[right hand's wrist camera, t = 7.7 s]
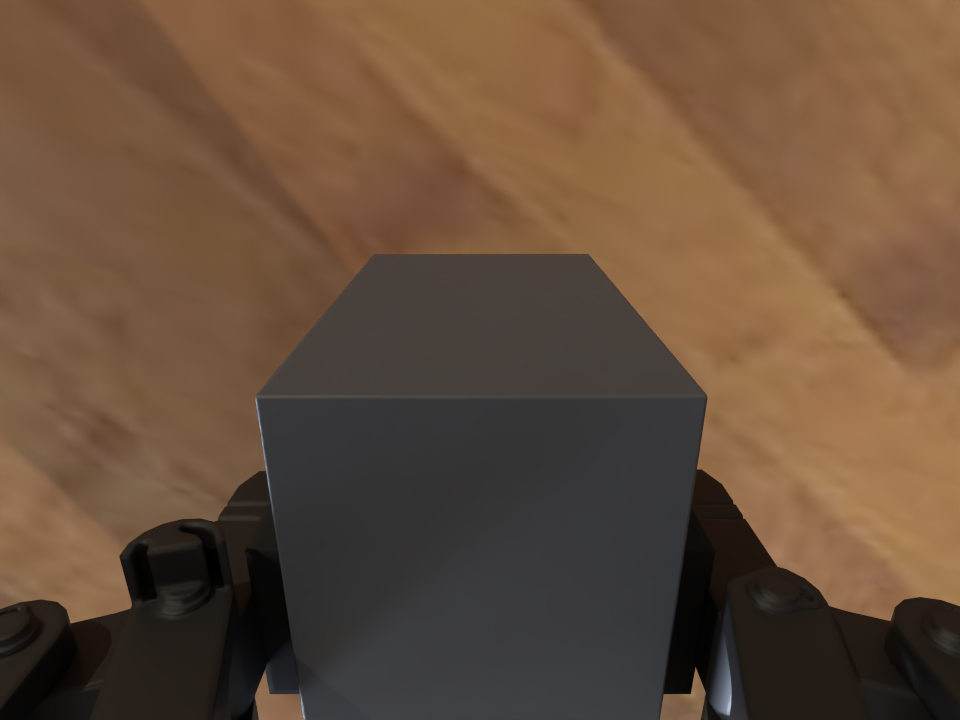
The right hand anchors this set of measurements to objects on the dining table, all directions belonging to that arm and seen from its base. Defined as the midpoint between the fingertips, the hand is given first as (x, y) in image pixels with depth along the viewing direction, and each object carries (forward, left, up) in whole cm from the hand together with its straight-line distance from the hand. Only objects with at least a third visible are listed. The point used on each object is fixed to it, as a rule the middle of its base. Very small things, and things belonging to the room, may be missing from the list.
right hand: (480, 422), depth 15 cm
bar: (-11, -18, -1) cm, 21 cm away
